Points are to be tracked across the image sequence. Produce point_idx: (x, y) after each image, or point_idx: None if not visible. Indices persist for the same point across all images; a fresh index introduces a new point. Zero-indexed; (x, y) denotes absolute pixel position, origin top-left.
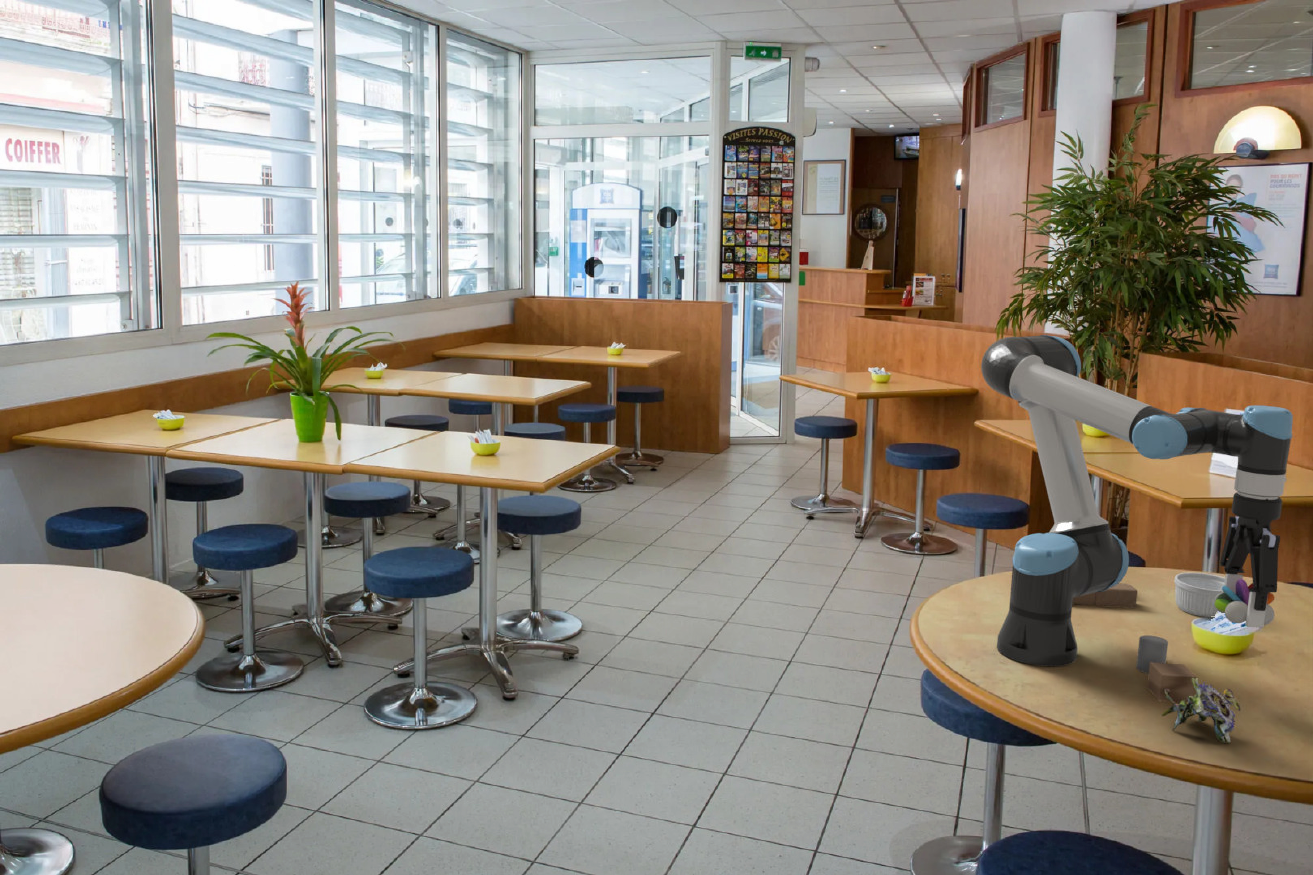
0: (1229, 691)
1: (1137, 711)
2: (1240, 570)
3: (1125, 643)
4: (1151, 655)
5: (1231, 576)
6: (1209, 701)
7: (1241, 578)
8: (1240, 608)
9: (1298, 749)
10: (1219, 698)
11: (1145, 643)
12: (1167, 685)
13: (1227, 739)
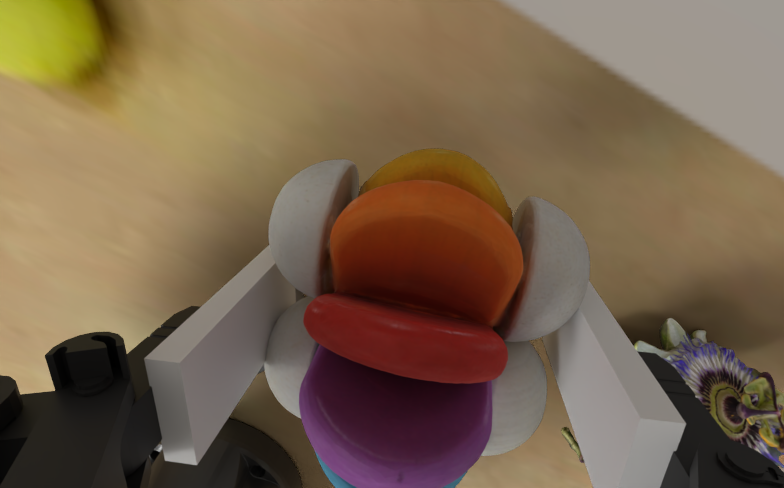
0: (751, 416)
1: None
2: (126, 396)
3: (111, 281)
4: None
5: (200, 431)
6: None
7: (198, 355)
8: (538, 422)
9: (772, 182)
10: (709, 407)
11: (263, 369)
12: None
13: (703, 338)
